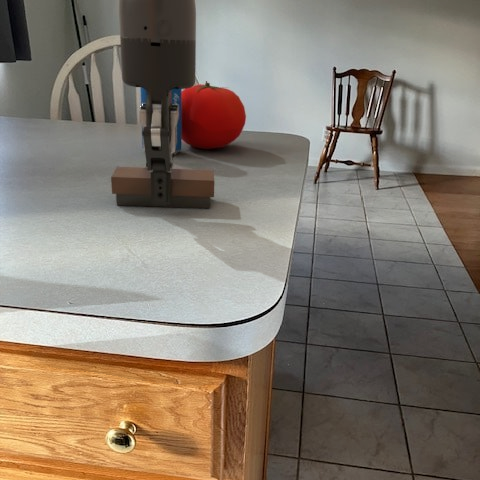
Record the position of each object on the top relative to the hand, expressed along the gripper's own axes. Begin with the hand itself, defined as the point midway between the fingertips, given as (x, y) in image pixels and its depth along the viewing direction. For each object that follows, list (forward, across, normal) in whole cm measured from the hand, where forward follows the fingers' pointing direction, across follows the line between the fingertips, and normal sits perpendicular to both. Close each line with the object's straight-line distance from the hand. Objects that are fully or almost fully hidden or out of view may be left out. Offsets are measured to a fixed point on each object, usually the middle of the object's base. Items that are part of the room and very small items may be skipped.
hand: (161, 203), depth 62 cm
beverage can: (+1, -32, -2) cm, 32 cm away
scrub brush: (+1, -5, 0) cm, 5 cm away
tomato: (+1, -38, +6) cm, 39 cm away
